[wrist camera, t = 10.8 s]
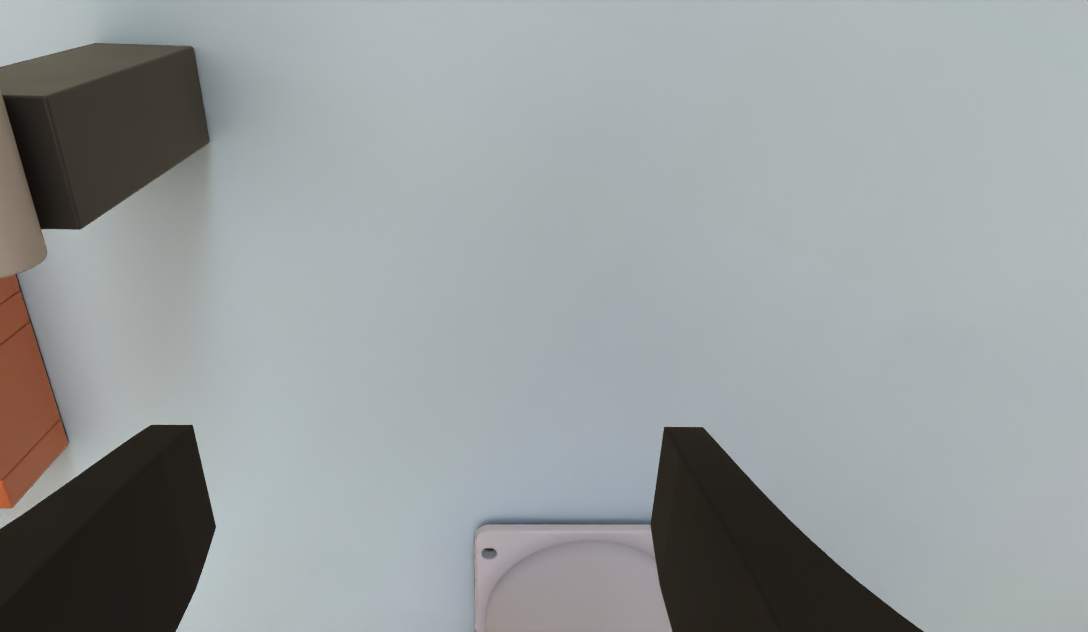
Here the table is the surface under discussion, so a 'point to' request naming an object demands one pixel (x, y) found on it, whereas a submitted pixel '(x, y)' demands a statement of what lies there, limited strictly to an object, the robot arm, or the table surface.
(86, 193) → the block with cylinder
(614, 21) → the table surface
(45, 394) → the holder
